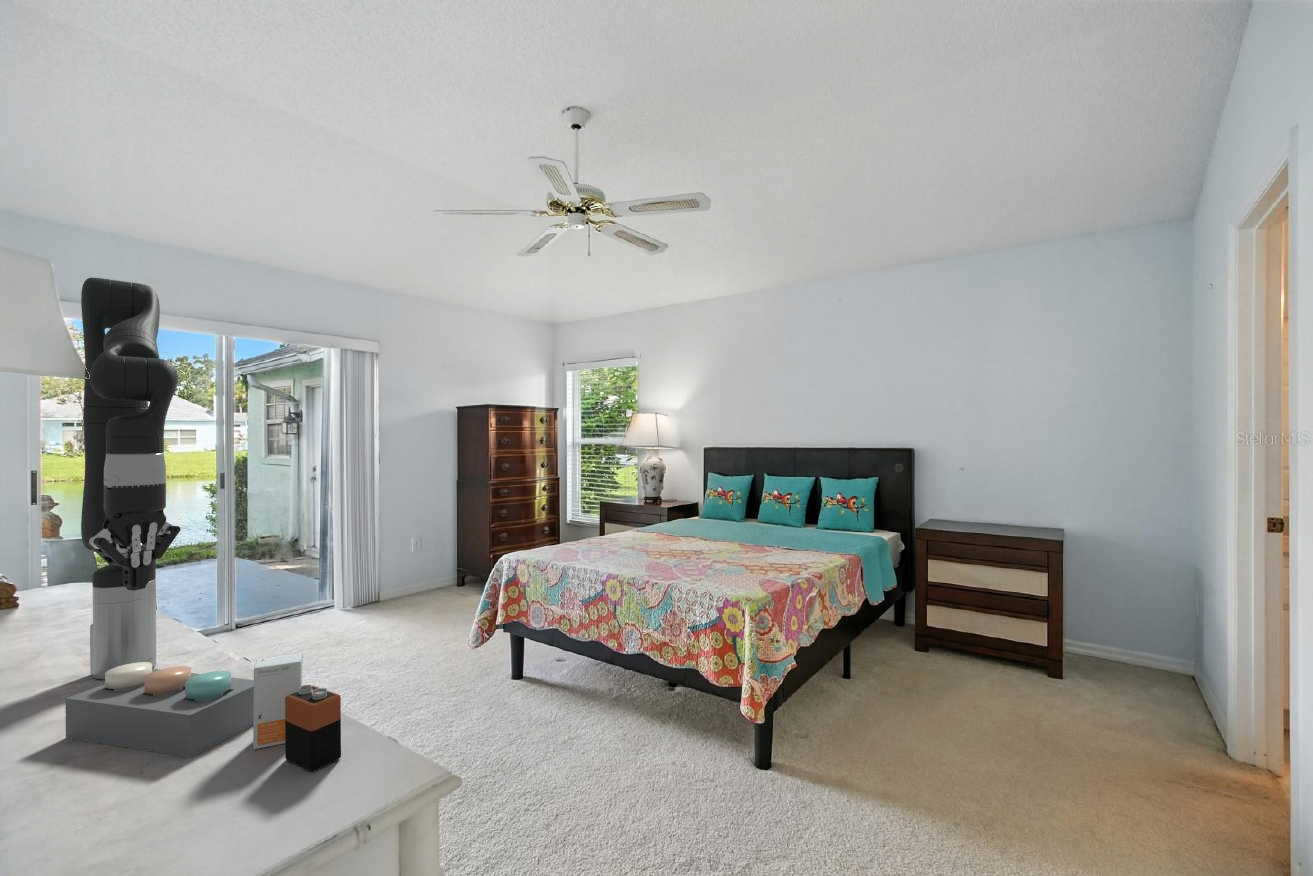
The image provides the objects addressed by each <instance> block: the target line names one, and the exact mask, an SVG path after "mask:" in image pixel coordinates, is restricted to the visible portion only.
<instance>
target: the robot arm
mask: <svg viewBox="0 0 1313 876" xmlns="http://www.w3.org/2000/svg"><path fill="white" fill-rule="evenodd" d="M80 293H81V294H80V299H81V300H80V306H81V318H82V320H81V321H82V331H83V334H82V335H83V348H84V350H83V351H84V386H83V387H84V388H83V409H82V410H83V412H82V413H83V415H82V416H83V417H82V418H83V439H84V443H83V444H84V480H83V493H82V504H81V505H82V506H81V515H80V517H81V519H80V534H81V541H82V545H83V546H84V547H85V548H86V549H87V550H89V551H94V552H95V553H96V554H97V555H98V556H99V557H100V558H101V559H102V560H103V561H105V563H107V565H105V566H102V567H100V568H97V570H94V572H93V573H92V577H91V579H92V623H91V624H90V626H89V643H90V644H89V649H90V650H89V655H90V657H89V659H90V660H89V661H90V662H89V663H90V664H89V665H90V666H89V668H90V675H92V677H93V678H94V679H96V680H105V673H106V672H107V671H108V670H110V669H112V668H115V667H118V666H122V665H126V664H131V663H138V662H149V663H151V664H152V669H154V668H155V667H156V666H157V583H156V582H157V576H156V574H157V573H156V572H157V571H156V568H157V566H156V565H157V560H159V559H161V558H162V557H163V556H164V554H165V553H166V552H167V550H168V549H169V547H170V546H171V544H172V543H173V541H174V540H175V539H176V537H177V536H178V535H179V533H180V532H181V527H180V526H178V525H173V524H171V523H170V522H168V521H167V516H166V514H165V512H164V510H165V509H166V507H167V465H166V460H165V437H164V436H165V424H166V418H167V415H168V410H169V408H170V406H171V402H172V399H173V397H174V394H175V392H176V390H177V386H178V381H179V374H178V371H177V369H176V367H175V366H174V365H173V363H171V362H170V361H169V360H166V359H163V358H160V353H159V350H158V344H157V339H158V334H159V329H160V317H161V316H160V311H161V310H160V300H159V296H158V295H159V294H157V291H156V290H155V289H154V288H153V287H152V286H149V285H147V284H143V283H140V282H139V283H138V282H130V281H123V280H118V279H117V280H116V279H109V278H102V277H88V278H86V279H85V280H84V282H83V284H82V288H81V292H80ZM106 329H109V330H107V332H106V331H105V330H106ZM85 366H86V368H87V370H86V368H85ZM87 371H88V372H89V374H90V379H85V377H87V378H89V374H88V372H87Z"/></svg>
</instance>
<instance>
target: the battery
mask: <svg viewBox="0 0 1313 876" xmlns="http://www.w3.org/2000/svg"><path fill="white" fill-rule="evenodd" d="M341 699H342V698H341V695H340V694H338V693H336V692H333V691H330V690H328V688H327V687H318V686H317V685H313V686H312V684H305V685H302V686H301V687H300V688H299V691H298V692H295V693H292V694H290V695H287V696H286V697H285V743H284V744H285V745H284V747H285V748H284V750H285V752H284V753H285V754H284V755H285V760H286V761H288V762H290V763H292V764H295V765H297V766H299V767H301V768H303V769H305V770H307V771H310V772H316V771H317V770H319V769H321V768H324V767H326V766H327V765H329V764H332V763H334V762H336V761H339V760H340V759H341V758H342V757H341V756H342V739H341V738H342V712H341V711H342V709H341V707H342V704H341V702H342V700H341ZM339 758H340V759H339ZM335 760H336V761H335Z"/></svg>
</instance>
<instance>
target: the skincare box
mask: <svg viewBox="0 0 1313 876" xmlns="http://www.w3.org/2000/svg"><path fill="white" fill-rule="evenodd" d="M303 658H304V654H303V653H302V652H299V653H293V654H283V655H282V654H281V655H276V656H273V657H265V658H258V659H256V662H255V665H254V668H253V680H254V717H253V725H252V726H253V732H252V733H253V737H252V738H253V740H252V741H253V745H252V747H253V750H258V749H263V748H268V747H273V746H279V745H284V744H285V697H286V696H287V695H290V694H292V693H295V692H298V691H299V688H300V687H301V686H303V667H304V666H303Z"/></svg>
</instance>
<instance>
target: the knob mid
mask: <svg viewBox="0 0 1313 876" xmlns="http://www.w3.org/2000/svg"><path fill="white" fill-rule="evenodd" d="M191 670H192V669H191V667H190V666H183V665H182V666H171V667H167V668H161V669H160V670H158V671H155V672H152V673H150V674H148V675H146V676H145V678H144V691H145V693H149V694H153V696H159V697H166V696H168V695H171V694H173V693H176V692H178V691H181V690H183V687H185V682H186V681H187V680H188V679H189V678H191V673H192V671H191Z"/></svg>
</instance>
